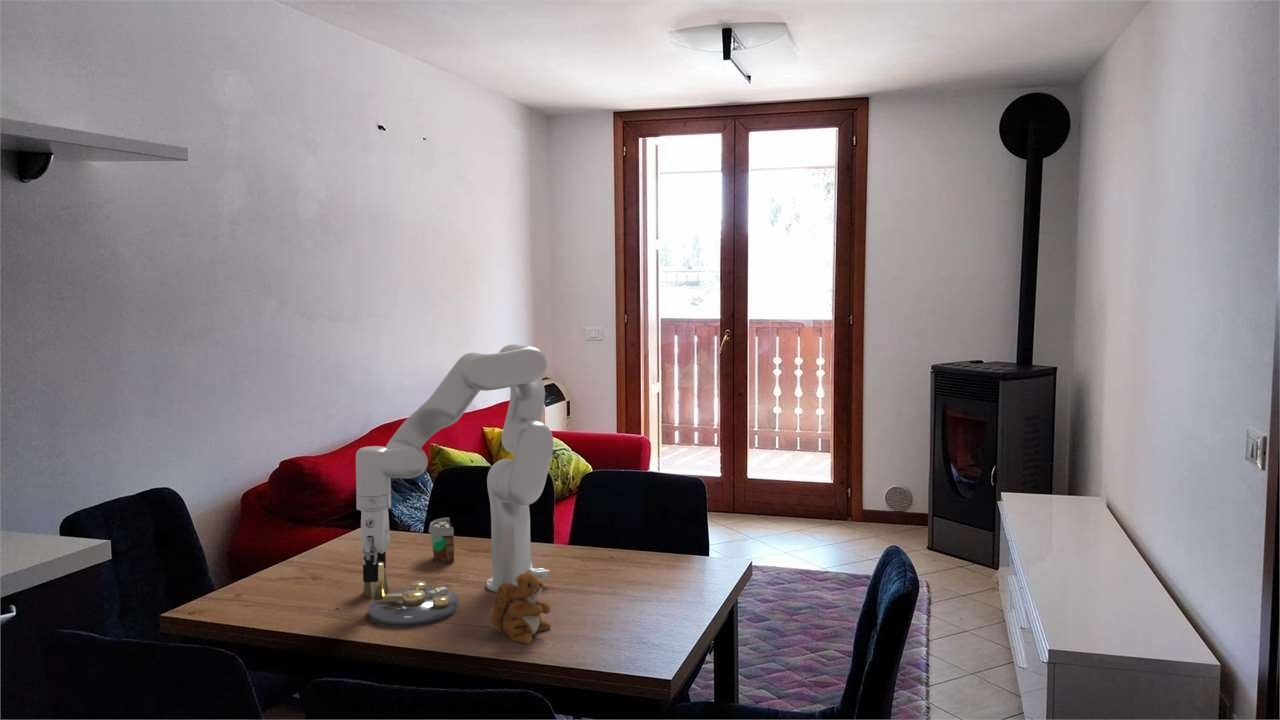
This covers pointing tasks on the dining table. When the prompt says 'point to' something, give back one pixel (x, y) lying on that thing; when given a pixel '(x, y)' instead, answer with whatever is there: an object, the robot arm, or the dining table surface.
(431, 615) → the base
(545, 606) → the stuffed squirrel
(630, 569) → the dining table surface
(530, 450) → the robot arm
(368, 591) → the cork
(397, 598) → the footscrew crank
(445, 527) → the food container
